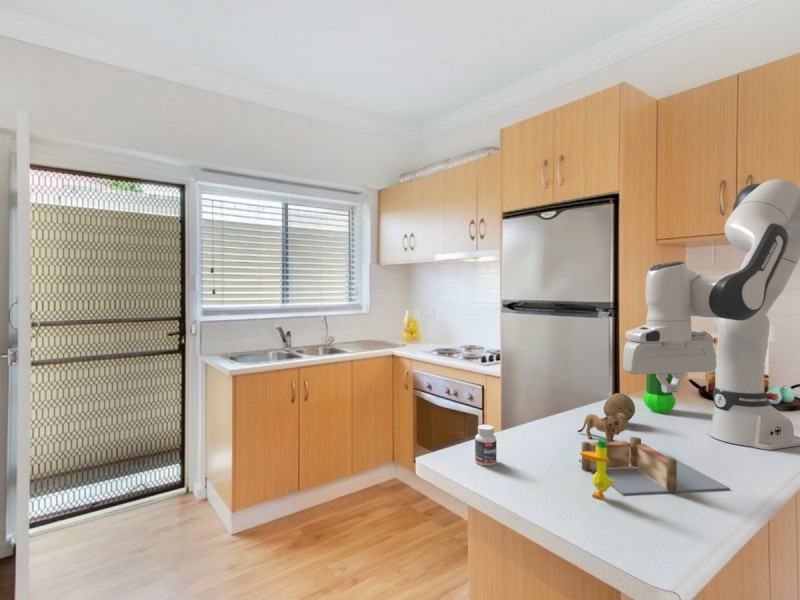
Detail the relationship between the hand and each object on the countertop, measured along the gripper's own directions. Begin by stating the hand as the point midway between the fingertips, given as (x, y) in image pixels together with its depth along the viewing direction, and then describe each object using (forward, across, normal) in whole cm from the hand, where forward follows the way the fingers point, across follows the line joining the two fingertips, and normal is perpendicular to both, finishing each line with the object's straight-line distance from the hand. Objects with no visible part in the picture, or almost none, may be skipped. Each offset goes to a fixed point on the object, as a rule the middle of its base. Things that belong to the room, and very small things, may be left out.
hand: (670, 392), depth 98 cm
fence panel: (+18, +6, +3) cm, 20 cm away
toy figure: (+19, +22, +9) cm, 31 cm away
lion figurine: (+19, +4, -24) cm, 31 cm away
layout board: (+19, +5, -1) cm, 20 cm away
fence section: (+19, +12, -4) cm, 23 cm away
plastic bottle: (+20, -31, -51) cm, 63 cm away
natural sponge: (+19, -9, -37) cm, 43 cm away
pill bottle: (+18, +41, -10) cm, 46 cm away
